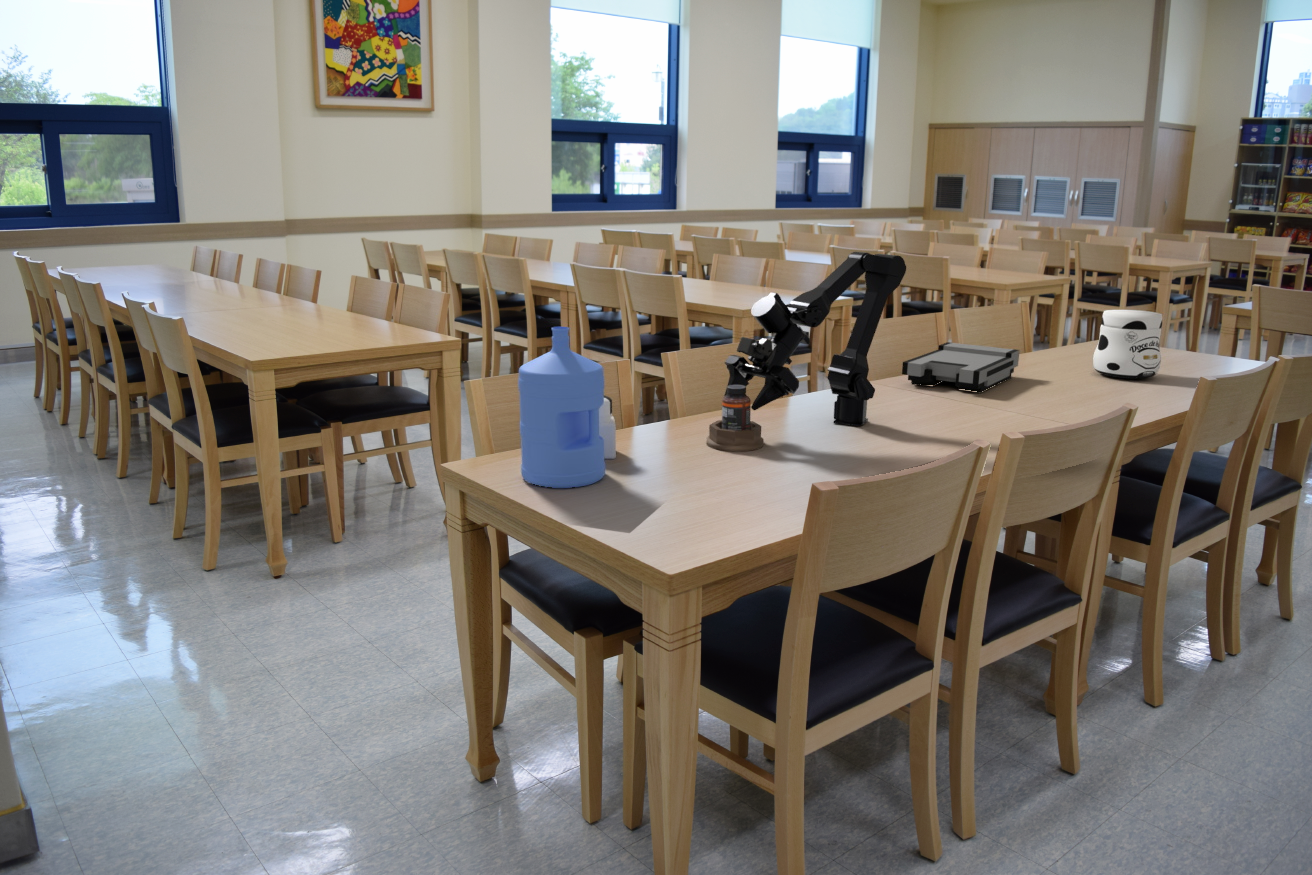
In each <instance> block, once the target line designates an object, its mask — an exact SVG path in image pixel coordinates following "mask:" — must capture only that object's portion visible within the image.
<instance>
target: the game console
mask: <svg viewBox="0 0 1312 875" xmlns="http://www.w3.org/2000/svg"><path fill="white" fill-rule="evenodd" d="M1020 352H1021V351H1020V349H1014V348H1006V347H1005V348H1003V347H995V346H986V345H977V344H967V343H966V344H965V343H958V342H950V341H949V342H944V343H942V344H939V345H938V348H937V349H936V350H933V351H930V352H928V353H923V354H922V355H919V356H917V357H914V358H911V359H907V360H905V361H902V368H901V369H902V371H901V375H904V376H907V380H908V381H911V383H912V384H911V383H910V384H911V385H915V384H919V385H918V386H922V385H935V384H937V383H939V382H941V381H945V382H952V383H955V384H954V386H955V387H957V388H958V389H965V390H971V391H977V392H982V391H984V390H986V389H988V388H990V387H992V386H994V385H997V384H998V383H1000V382H1003V381H1005V380H1007V379H1009V378H1011V379H1012V374H1013V373H1014V372H1015V368H1016V367H1018V366H1019V360H1020ZM1009 380H1010V379H1009ZM1007 381H1008V380H1007ZM1005 382H1006V381H1005ZM1003 383H1004V382H1003ZM920 384H921V385H920ZM935 386H936V385H935ZM997 386H998V385H997ZM958 389H957V390H958ZM988 390H989V389H988ZM986 391H987V390H986ZM984 392H985V391H984ZM982 393H983V392H982Z"/></svg>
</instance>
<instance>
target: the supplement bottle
mask: <svg viewBox="0 0 1312 875" xmlns="http://www.w3.org/2000/svg"><path fill="white" fill-rule="evenodd" d="M726 388H727V395H726V396H725V397H724V396H722V397H723V398H722V401H721V402H722V403H721V404H722V405H721V408H722V409H721V410H722V411H721V420H722V429H727V430H735V431H737V430H749V429H750V421H751V409H752V408H751V406H752V404H751V403H752V402H751V398H750V396H748V395H747V386H744V385H729V386H727V385H726Z"/></svg>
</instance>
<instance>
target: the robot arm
mask: <svg viewBox="0 0 1312 875" xmlns="http://www.w3.org/2000/svg"><path fill="white" fill-rule="evenodd" d="M906 273H907V265H906V262H905V260H904V258H903V257H902V256H901V255H897V254H889V253H888V254H886V253H875V254H871V253H869V252H867V251H866V252H863V251H853V252H851V253H849V254H848V256H847V258H846V259H845V260H844V261H843V262H842V263H841V264H839V266H838V267H837V268H835V270H833V271H832V272H831V273H830V274H829V275H828V276H827V277H826V278H824V280H823V281H821V282H820V284H818V285H817V286H816V287H815V288H812V289H810V290H809V291H808V290H807V291H805V292H802V293H801V294H799V295H797V297H795V298H793V299H792V300H791V301H790V302H789V303H787V304H785V303H784V301H783V299H782V298H781V296H780V295H779V293H777V292H772V291H770V293H769V294H768V295H766V296H763V297H762V298H760V299H759V300H757V301H755V302H754V303H753V305H752V307H751V310H750V312H751V313H750V314H751V315H752V316H753V317H754V319H755V320H756V321H757V322H758V323H759V325H760V326H761V327H762V329H764V330H765V333H768V334H772V335H771V337H770V338H763V337H762V338H760V339H759V340H757V339H753V338H749V337H745V336H741V337H740V340H739V343H738V345H737V348H736V352H738V353H742V354H745V355H747V356H748V357H747V359H748V360H747V359H746V358H745V357H744V356H740V355H737V354H730V355H728V357H727V358H726V360H725V361H724V364H725V366H726V369H727V370H728V373H729V378H728V383H727V385H726V389H725V392H724V395H723V397H725V396H726V395H727V386H729V385H744V386H746V387H747V386H748V385H749V384H750V382H749V381H751V380H753V379H754V377H755V376H756V377H758V378H762V379H764V385H763V386H762V388H761V390H760V391H759V393H758V394H757V396H756V397H755V399H754V401H753V403H752V404H751V408H750V409H751V410H753V411H756V410H757V411H758V410H759V409H761V408H762V407H764V406H766V405H768V404H770V403H771V402H772V403H773V402H774V401H776V400H777V399H780V398H783V397H784V396H789V395H790V394H793V395H795V393H796V392H797V390H798V389H799V387H800V381H799V379H798V377H797V376H795V374H794V373H793V371H792V370H791V369H790V368H789V367H787V366H785V365H791V363H792V362H793V360H792V359H791V356H792V355H793V354H794V352H795V351H796V350H797V348H798V347H799V345H800V344H802V345H806V346H807V345H809V346H810V344H811V338H810V332H809V331H806V330H803V328H802V327H801V326H803V327H809V328H818V327H819V326H820V325H821V324H822V323H823V322H824V320H826V318H827V317H828V315H829V314H830V311H831V307H832V305H833V304H834V303H835V301H837V299H839V297H840V296H841V295H843V294H844V293H845V291H847V290H848V289H849V288H850V287H851V286H852V285H854V283H856V281H857V280H858V279H859V278H860V277H862V276H863V275H864V280H865V287H866V291H865V293H864V297H863V300H862V302H861V305H860V308H859V310H858V313H857V317H856V320H855V322H854V325H853V328H852V330H851V333H850V336H849V337H848V338H849V339H848V342H847V345H846V347H845V349H844V350H843V351H842V352H841V353H840V354H837V353H834V354H833V355H832V357H831V362H830V364H829V367H828V368H827V370H826V371H828V374H827V380H828V383H829V385H830V389H831V390H830V391H831V394H833V395H837V396H836V397H837V398H836V400H835V401H834V403H833V405H834V408H833V422H832V423H833V424H837V425H845V426H854V427H862V426H864V425H865V424H866V423H867V422H868V421H869V418H867V410H868V409H867V408H868V400H871V399H874V396H875V393H876V388H875V386H874V385H872V383H871V382H870V380H869V379H868V376H869V370H870V368H869V362H868V354H869V350H870V348H871V345H872V342H873V339H874V337H875V334H876V331H877V328H878V327H879V323H880V319H881V317H882V314H883V312H884V310H885V306H886V303H887V300H888V298H889V296H890V295H892V293H894V291H896V290H897V288H898V287H899V286H900V285H901V283H902V281H903V279H904V277H905V275H906ZM749 362H750V363H752V365H751V364H750V363H749Z"/></svg>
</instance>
